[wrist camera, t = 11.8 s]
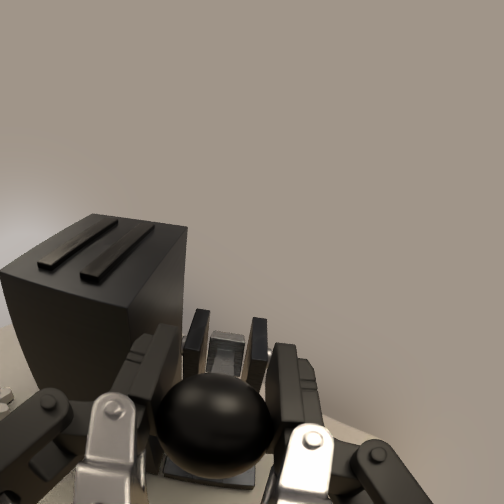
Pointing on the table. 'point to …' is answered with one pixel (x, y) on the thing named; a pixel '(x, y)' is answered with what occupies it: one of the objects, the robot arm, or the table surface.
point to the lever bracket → (251, 374)
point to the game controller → (5, 401)
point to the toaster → (96, 303)
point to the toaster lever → (215, 416)
